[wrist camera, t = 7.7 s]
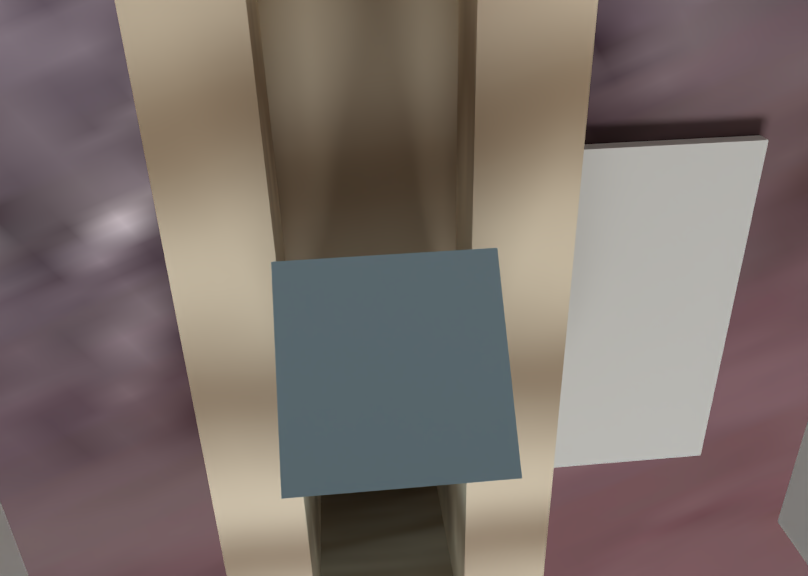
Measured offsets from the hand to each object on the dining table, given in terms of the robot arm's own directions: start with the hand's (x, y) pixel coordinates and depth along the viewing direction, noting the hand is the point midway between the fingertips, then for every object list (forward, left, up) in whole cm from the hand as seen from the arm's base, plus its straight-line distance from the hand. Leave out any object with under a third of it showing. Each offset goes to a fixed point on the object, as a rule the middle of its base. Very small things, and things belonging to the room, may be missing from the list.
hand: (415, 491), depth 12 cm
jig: (0, -2, -17) cm, 17 cm away
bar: (0, -3, -9) cm, 10 cm away
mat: (+11, -7, -17) cm, 21 cm away
